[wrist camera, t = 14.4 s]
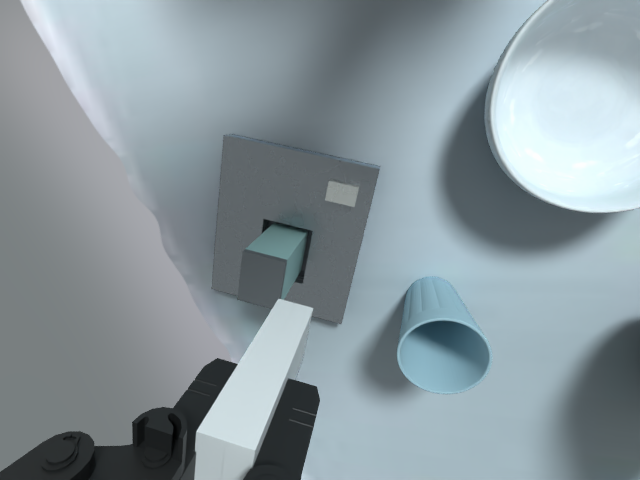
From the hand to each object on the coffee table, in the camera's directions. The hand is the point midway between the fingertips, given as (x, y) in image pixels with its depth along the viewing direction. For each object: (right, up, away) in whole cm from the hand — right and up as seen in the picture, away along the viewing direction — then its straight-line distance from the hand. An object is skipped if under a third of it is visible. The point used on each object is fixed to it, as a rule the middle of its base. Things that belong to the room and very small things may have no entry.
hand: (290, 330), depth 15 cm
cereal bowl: (+24, +16, +16) cm, 33 cm away
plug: (-2, +3, +26) cm, 26 cm away
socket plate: (-2, +5, +25) cm, 26 cm away
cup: (+14, -3, +25) cm, 28 cm away
